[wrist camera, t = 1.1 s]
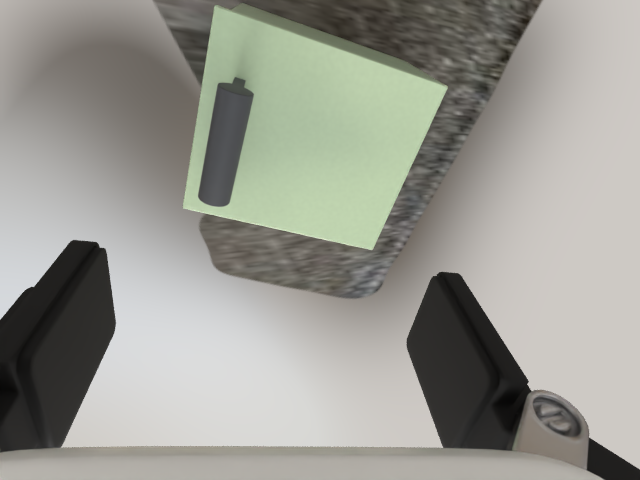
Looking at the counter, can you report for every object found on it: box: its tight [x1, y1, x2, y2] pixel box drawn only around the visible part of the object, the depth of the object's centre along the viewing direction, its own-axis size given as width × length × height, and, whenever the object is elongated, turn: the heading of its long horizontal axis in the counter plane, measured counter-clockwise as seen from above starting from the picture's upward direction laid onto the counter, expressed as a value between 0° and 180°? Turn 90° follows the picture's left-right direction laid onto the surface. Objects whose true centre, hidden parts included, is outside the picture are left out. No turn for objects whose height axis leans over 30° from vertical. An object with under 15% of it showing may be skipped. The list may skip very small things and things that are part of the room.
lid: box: [183, 5, 448, 250], centre depth 26 cm, size 15×14×5 cm
